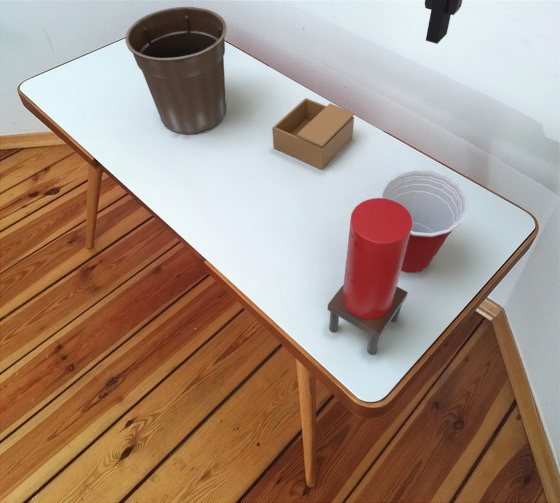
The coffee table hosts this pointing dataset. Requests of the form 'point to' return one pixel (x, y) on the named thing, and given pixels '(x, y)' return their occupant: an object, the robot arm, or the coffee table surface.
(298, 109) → the carton
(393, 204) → the can
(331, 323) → the stool
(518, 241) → the coffee table surface
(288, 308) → the coffee table surface
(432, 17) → the robot arm
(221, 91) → the plant pot
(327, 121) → the flap
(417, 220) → the plastic cup
